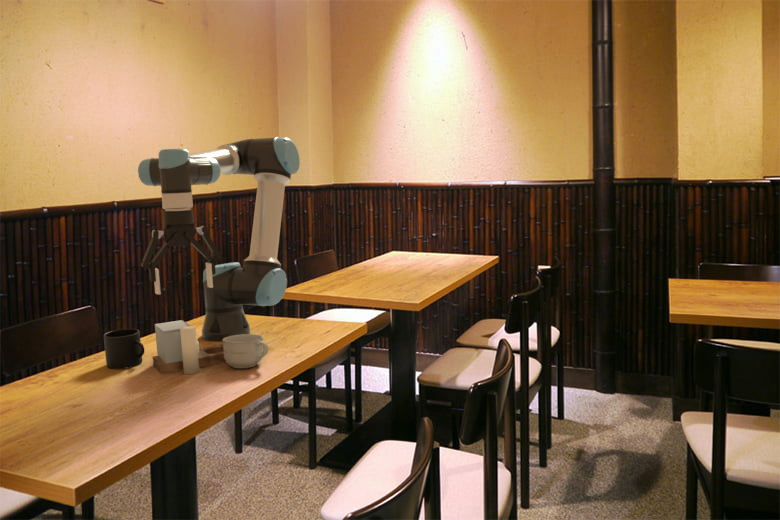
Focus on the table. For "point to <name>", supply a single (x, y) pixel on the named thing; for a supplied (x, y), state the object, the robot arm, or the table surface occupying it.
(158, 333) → the cover
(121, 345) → the mug
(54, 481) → the table surface
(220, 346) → the wooden tray
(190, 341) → the pin
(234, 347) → the teacup
